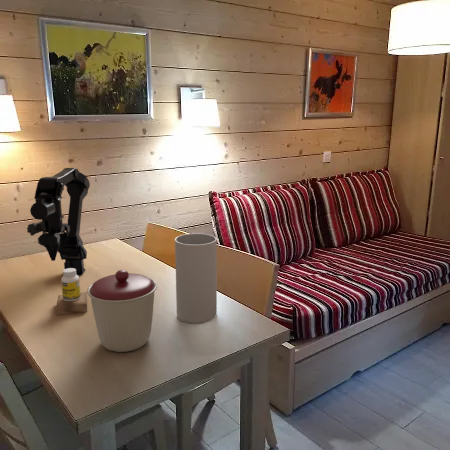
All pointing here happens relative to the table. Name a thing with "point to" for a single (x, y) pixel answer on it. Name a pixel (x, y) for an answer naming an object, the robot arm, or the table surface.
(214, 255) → the cylinder vase
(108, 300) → the canister
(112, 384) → the table surface
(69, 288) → the supplement bottle
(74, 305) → the square wooden block
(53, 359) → the table surface
